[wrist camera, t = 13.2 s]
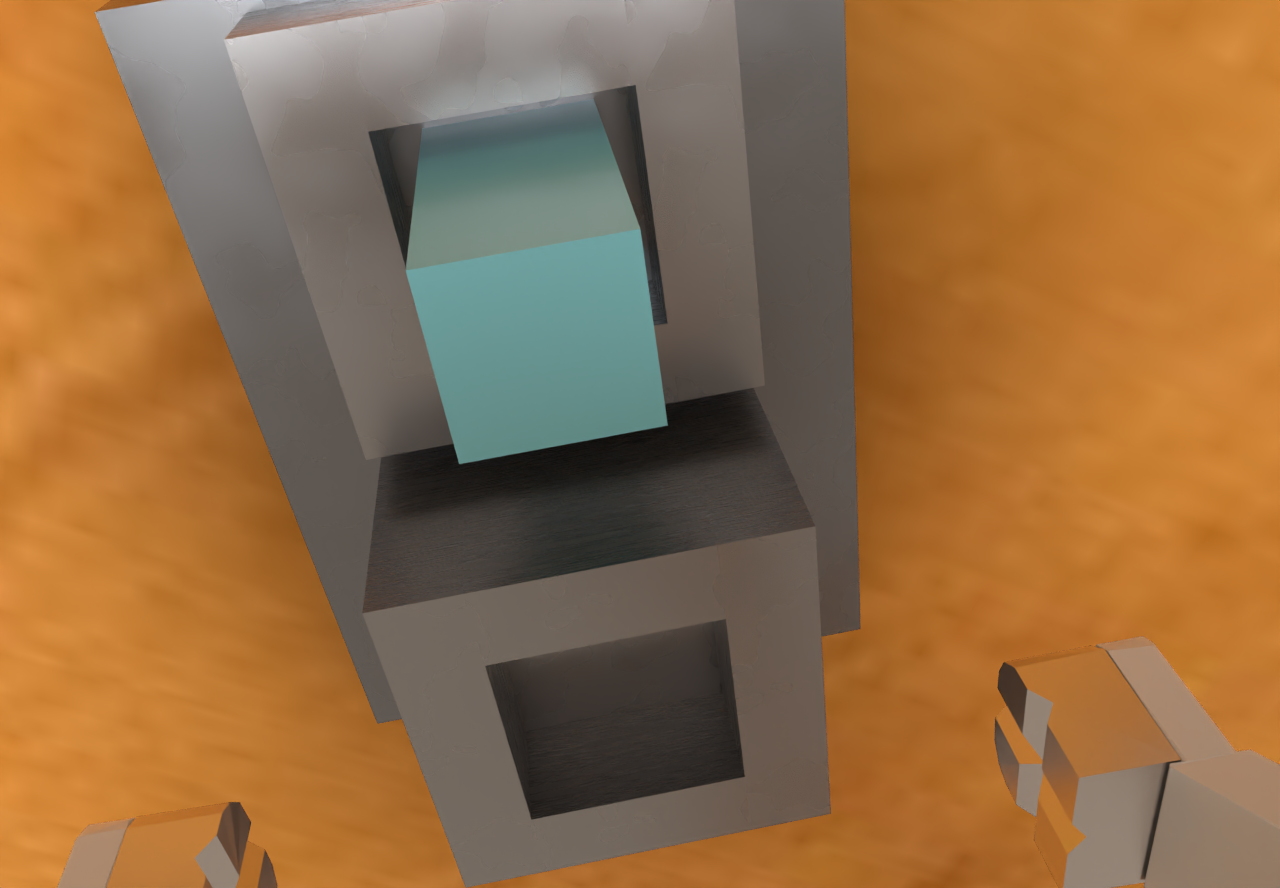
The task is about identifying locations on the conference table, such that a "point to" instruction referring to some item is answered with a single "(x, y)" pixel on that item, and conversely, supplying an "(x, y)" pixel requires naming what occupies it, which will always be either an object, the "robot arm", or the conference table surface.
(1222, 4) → the conference table surface
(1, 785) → the conference table surface
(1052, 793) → the robot arm
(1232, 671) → the conference table surface
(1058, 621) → the conference table surface
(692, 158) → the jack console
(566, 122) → the plug
